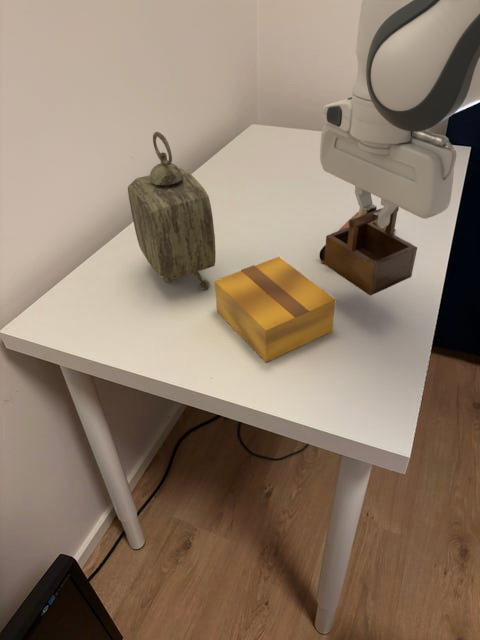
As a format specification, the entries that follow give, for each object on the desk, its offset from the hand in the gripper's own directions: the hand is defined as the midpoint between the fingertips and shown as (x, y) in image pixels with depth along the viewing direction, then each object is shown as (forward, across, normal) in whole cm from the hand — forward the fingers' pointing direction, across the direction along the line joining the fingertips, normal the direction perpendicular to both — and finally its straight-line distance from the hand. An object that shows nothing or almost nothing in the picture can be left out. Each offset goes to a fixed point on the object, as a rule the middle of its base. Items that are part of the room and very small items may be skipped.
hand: (373, 221), depth 67 cm
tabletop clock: (+15, +24, +20) cm, 35 cm away
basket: (+8, 0, 0) cm, 8 cm away
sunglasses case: (+15, +14, -13) cm, 25 cm away
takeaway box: (+15, +5, +13) cm, 21 cm away
